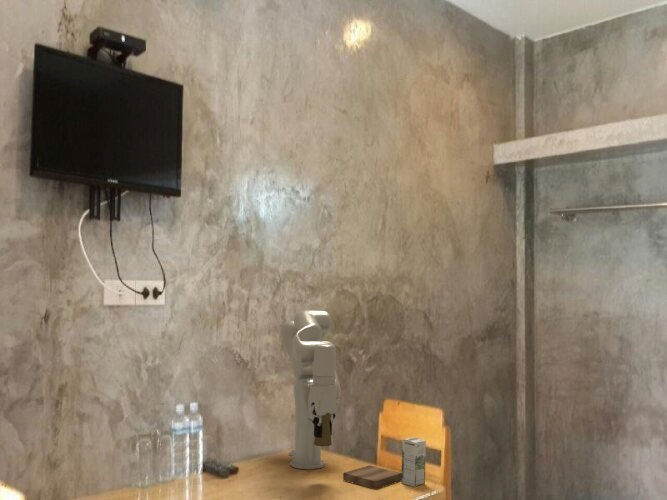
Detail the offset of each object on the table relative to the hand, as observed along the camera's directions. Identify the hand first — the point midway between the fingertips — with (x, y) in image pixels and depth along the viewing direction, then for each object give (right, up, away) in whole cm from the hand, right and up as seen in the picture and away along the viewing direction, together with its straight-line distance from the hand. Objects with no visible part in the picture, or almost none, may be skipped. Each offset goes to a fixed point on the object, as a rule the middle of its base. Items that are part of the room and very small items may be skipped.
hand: (322, 435), depth 211 cm
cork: (0, -3, 0) cm, 3 cm away
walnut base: (+17, -16, +2) cm, 23 cm away
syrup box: (+30, -16, -1) cm, 34 cm away
